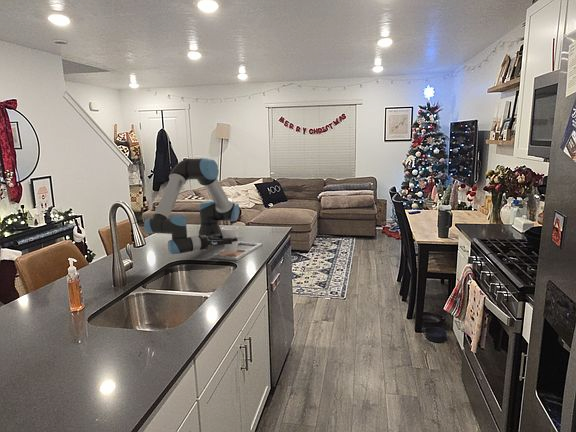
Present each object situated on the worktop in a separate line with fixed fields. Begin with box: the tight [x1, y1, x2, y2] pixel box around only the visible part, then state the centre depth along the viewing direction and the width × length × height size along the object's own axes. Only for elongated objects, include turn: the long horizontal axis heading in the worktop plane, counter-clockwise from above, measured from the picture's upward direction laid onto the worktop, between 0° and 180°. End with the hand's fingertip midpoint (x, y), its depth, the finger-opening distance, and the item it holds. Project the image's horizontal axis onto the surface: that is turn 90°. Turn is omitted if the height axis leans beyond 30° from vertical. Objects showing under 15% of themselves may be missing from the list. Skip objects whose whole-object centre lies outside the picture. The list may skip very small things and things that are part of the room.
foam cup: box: [220, 225, 240, 252], centre depth 211 cm, size 10×9×13 cm
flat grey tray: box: [210, 241, 263, 261], centre depth 220 cm, size 31×16×1 cm, turn 158°
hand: (238, 236), depth 213 cm, fingers closed on foam cup, 9 cm apart
